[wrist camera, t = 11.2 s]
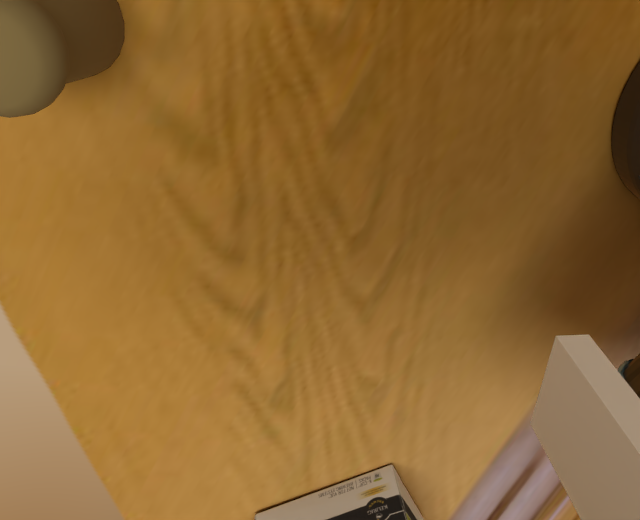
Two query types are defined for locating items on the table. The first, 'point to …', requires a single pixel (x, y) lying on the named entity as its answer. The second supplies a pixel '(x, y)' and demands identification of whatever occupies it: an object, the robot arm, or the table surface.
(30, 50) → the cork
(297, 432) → the table surface
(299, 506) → the tea box
